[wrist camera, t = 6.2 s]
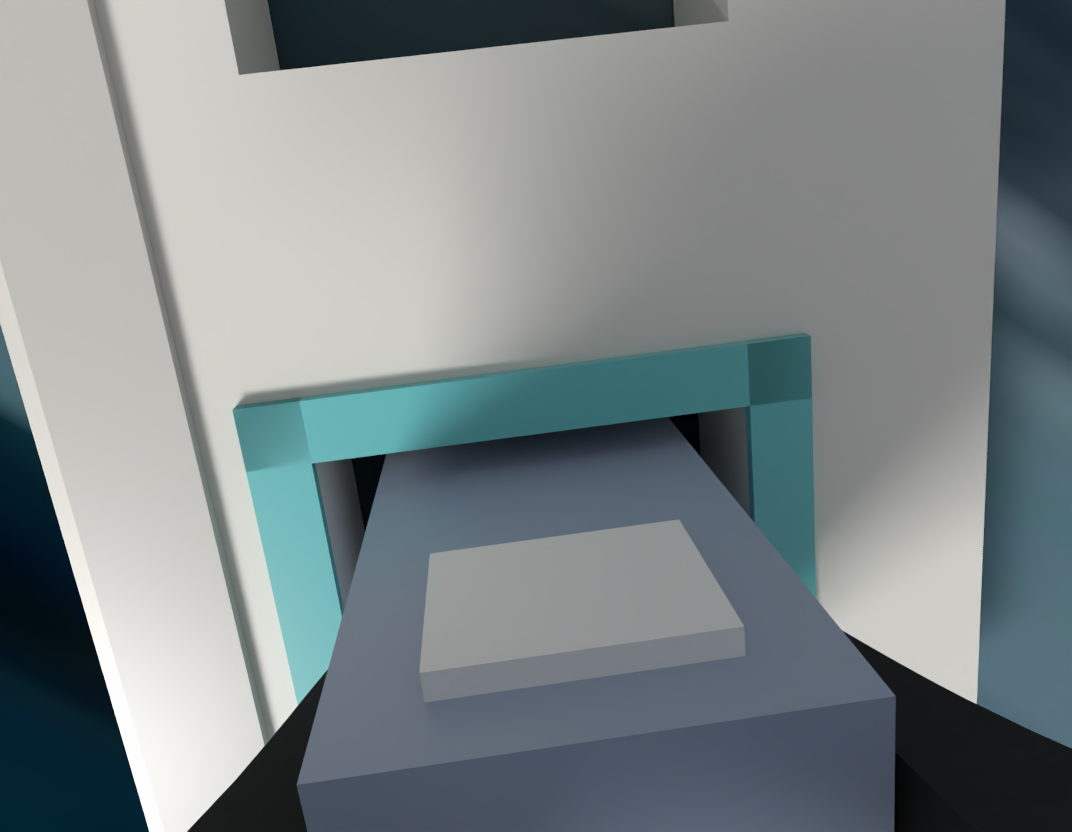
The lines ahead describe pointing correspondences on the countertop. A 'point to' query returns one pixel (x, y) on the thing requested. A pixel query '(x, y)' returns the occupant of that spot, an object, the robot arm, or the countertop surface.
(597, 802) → the plug
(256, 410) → the panel
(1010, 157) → the countertop surface
